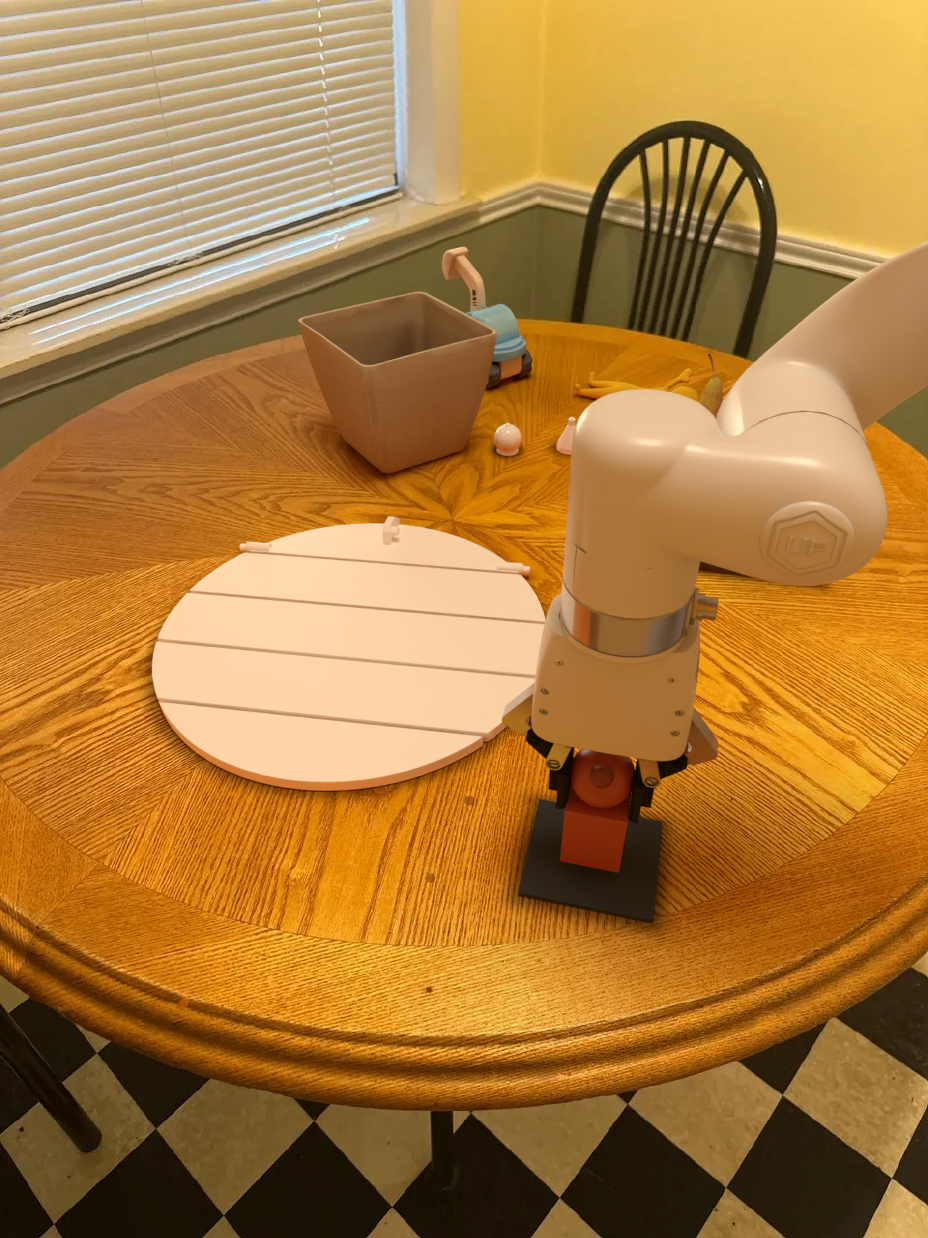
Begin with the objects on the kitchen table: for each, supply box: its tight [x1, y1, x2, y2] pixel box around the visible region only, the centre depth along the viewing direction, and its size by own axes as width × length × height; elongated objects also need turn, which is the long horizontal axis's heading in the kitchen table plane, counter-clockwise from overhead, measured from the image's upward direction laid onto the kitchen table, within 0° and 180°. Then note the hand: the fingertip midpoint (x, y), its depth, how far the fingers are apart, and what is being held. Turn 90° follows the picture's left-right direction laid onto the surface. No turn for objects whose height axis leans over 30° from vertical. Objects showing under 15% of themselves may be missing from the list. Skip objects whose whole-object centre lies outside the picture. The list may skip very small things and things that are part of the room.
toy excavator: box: [441, 246, 534, 389], centre depth 133 cm, size 9×17×17 cm, turn 34°
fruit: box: [698, 353, 724, 419], centre depth 113 cm, size 6×6×12 cm
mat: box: [517, 798, 663, 924], centre depth 67 cm, size 10×9×1 cm
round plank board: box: [151, 515, 546, 792], centre depth 87 cm, size 40×39×3 cm
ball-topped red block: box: [560, 749, 636, 873], centre depth 62 cm, size 5×5×11 cm
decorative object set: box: [493, 416, 577, 457], centre depth 116 cm, size 5×20×4 cm, turn 92°
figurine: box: [574, 367, 699, 402], centre depth 126 cm, size 14×5×18 cm
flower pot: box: [297, 290, 497, 474], centre depth 114 cm, size 19×19×17 cm
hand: (599, 798), depth 62 cm, fingers closed on ball-topped red block, 4 cm apart
